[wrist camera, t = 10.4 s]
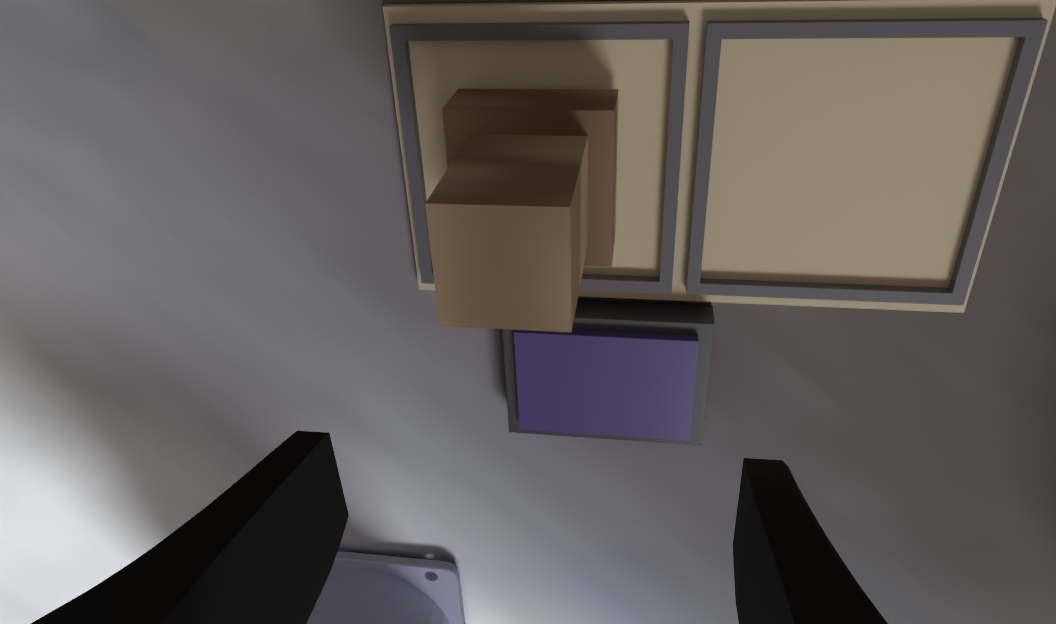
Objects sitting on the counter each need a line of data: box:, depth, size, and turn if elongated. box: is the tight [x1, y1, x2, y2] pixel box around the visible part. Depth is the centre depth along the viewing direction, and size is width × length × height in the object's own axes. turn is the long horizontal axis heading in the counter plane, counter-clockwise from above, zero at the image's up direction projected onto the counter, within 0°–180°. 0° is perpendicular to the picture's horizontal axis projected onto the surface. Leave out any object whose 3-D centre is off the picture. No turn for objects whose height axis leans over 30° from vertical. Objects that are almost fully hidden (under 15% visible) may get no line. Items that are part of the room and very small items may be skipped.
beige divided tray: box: [383, 0, 1056, 313], centre depth 20 cm, size 15×8×1 cm, turn 92°
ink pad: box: [502, 300, 714, 445], centre depth 23 cm, size 6×4×1 cm
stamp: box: [425, 89, 618, 332], centre depth 18 cm, size 4×4×6 cm
